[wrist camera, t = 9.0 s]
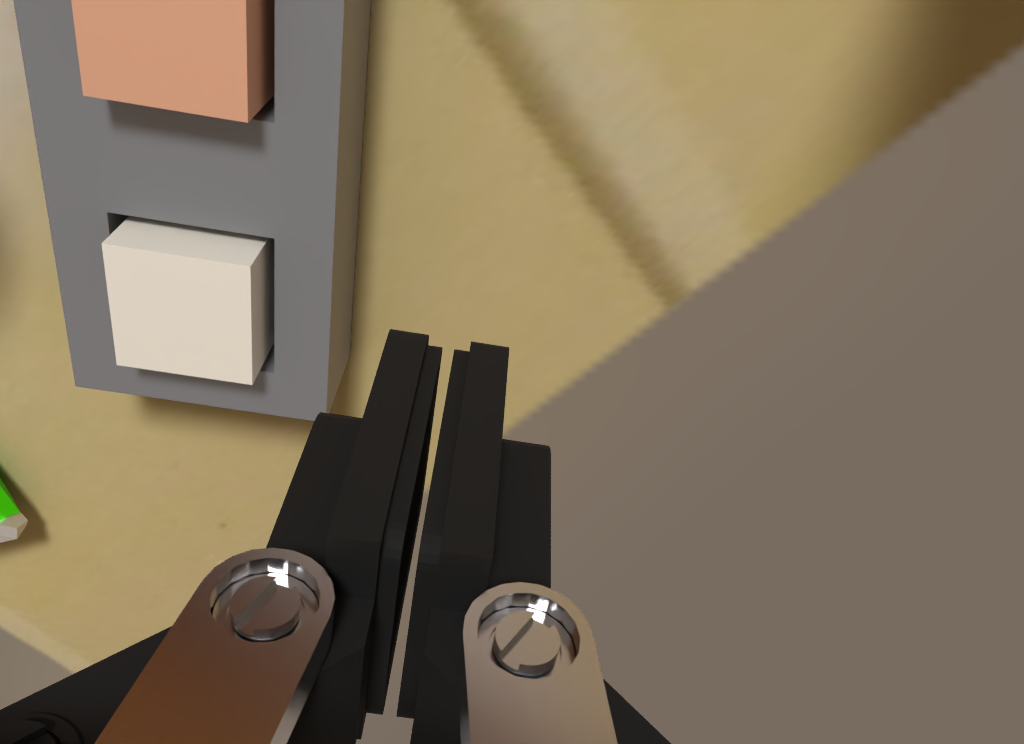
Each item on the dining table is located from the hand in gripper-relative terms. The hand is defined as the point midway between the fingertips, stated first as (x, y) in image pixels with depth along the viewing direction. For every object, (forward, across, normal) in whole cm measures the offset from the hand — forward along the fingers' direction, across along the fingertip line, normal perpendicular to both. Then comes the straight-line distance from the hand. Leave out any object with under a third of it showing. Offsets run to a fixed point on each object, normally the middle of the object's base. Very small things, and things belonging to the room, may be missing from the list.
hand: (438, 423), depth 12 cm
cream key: (+27, +12, +13) cm, 33 cm away
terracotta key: (+27, +12, +1) cm, 30 cm away
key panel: (+29, +12, +7) cm, 32 cm away
